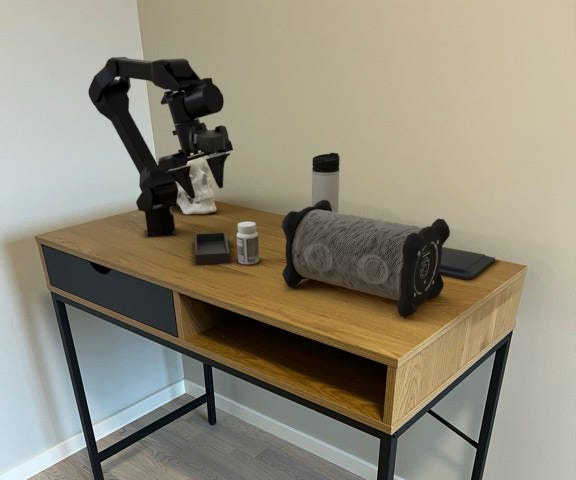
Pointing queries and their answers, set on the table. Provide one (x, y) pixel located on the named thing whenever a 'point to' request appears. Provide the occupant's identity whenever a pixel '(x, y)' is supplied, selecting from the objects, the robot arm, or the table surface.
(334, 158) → the travel mug
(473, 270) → the wallet
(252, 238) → the pill bottle
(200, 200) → the white skull model
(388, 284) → the speaker
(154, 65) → the robot arm
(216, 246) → the pen tray
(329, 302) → the table surface
